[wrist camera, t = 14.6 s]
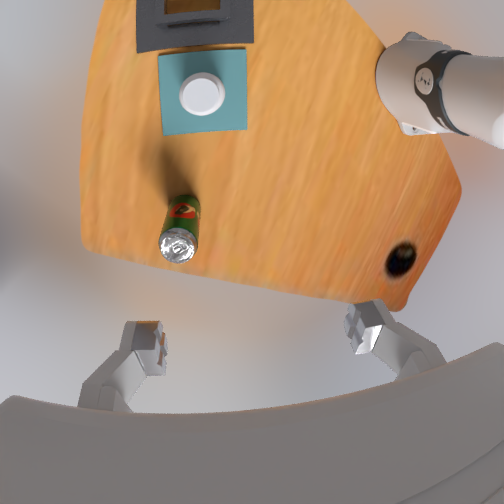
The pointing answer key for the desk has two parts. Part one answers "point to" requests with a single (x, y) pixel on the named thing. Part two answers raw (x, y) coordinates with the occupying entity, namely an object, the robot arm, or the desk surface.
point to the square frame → (192, 25)
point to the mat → (215, 62)
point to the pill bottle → (202, 93)
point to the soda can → (180, 229)
